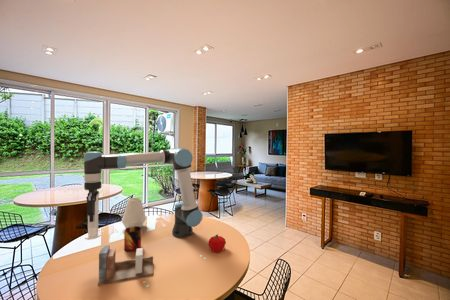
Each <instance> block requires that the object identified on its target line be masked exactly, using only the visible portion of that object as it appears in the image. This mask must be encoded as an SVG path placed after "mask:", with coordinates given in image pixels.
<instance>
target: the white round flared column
mask: <svg viewBox="0 0 450 300" xmlns="http://www.w3.org/2000/svg"><path fill="white" fill-rule="evenodd" d="M93 200H95V199H93ZM98 208H99V200H98V194H97V196H96V201H95V214H94V215H95V227H94V228H89V216H87V234H86V235H85V236H84V239H85V240H96V239H97V238H99V237H101V236H102V233H101V232H99V211H98V210H99V209H98Z"/></svg>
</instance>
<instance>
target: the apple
mask: <svg viewBox="0 0 450 300" xmlns="http://www.w3.org/2000/svg"><path fill="white" fill-rule="evenodd" d="M207 245H208V248H209V250H211V252H213V253H215V252H216V253H217V254H218V253H221V252H223V251H224V249H225V246H226V238H224V237H223V236H221V235H219V234H216V235H214V236H211V237H210V238H209V240H208V243H207Z"/></svg>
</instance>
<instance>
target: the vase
mask: <svg viewBox="0 0 450 300" xmlns="http://www.w3.org/2000/svg"><path fill="white" fill-rule="evenodd" d="M146 219H147V217H146V214H145V211H144V206H143V203H142V200H141V197H131V198H128V200H127V203H126V206H125V209H124V213H123V216H122V219H121V223H122V225H123V226H124V228H125V229H126V228H129V227H134V226H138V227H141V228H142V227H143V225H144V223H145V222H146Z"/></svg>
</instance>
